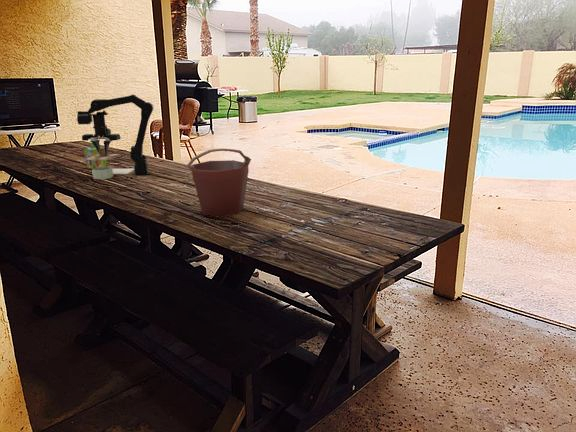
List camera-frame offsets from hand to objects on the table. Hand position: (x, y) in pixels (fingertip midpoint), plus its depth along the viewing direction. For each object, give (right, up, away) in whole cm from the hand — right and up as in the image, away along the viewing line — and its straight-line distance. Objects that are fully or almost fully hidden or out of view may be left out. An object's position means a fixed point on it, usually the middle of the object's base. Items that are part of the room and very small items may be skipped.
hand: (103, 153), depth 259 cm
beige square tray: (0, -2, +1) cm, 2 cm away
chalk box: (-15, -5, +29) cm, 33 cm away
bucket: (+73, -32, -65) cm, 102 cm away
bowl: (0, -13, +1) cm, 13 cm away
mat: (+3, -9, +15) cm, 18 cm away
